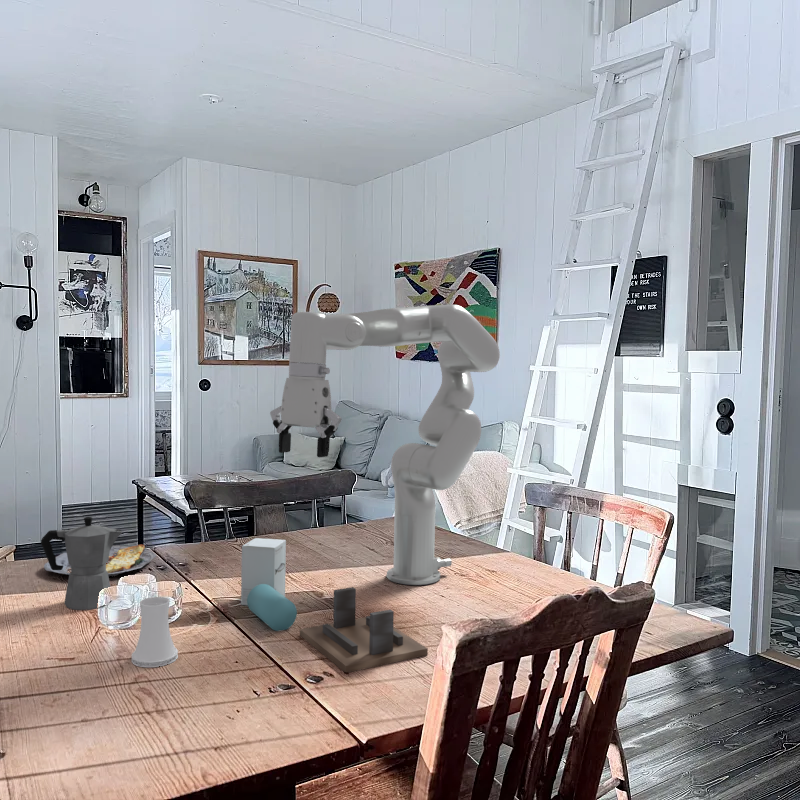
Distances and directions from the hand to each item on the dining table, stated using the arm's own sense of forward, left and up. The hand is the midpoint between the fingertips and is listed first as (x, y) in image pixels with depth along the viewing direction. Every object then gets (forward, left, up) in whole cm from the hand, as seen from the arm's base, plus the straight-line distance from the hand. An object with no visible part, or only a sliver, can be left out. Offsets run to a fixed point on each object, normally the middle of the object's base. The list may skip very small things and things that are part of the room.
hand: (303, 454), depth 161 cm
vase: (+34, +16, -32) cm, 49 cm away
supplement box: (+7, -4, -32) cm, 32 cm away
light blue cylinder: (+10, +8, -31) cm, 34 cm away
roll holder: (0, +27, -31) cm, 41 cm away
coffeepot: (+40, -19, -32) cm, 55 cm away
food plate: (+32, -46, -32) cm, 64 cm away
